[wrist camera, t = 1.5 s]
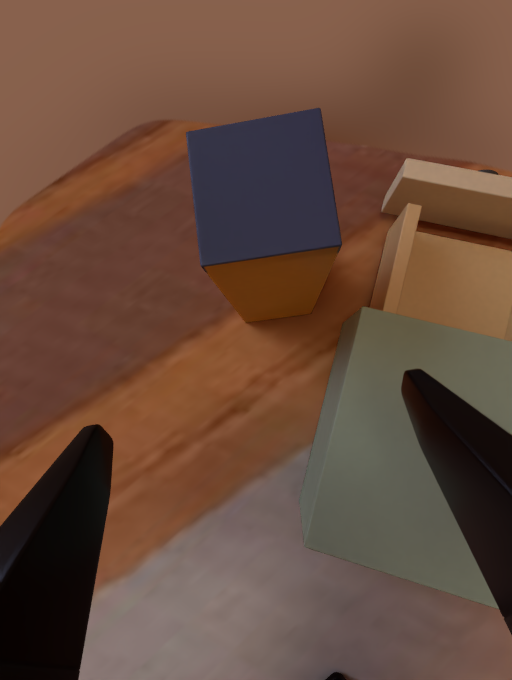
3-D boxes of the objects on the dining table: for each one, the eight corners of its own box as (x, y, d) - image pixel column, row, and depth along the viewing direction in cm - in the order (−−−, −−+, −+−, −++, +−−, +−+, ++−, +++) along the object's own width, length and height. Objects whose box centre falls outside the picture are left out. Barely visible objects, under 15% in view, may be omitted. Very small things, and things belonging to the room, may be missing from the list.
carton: (301, 246, 24) (320, 106, 12) (311, 313, 24) (342, 245, 11) (237, 256, 25) (185, 131, 12) (245, 323, 24) (200, 266, 11)
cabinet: (342, 323, 24) (362, 305, 18) (514, 364, 22) (599, 361, 16) (298, 500, 23) (303, 547, 17) (475, 554, 21) (549, 626, 15)
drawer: (388, 180, 23) (411, 137, 19) (545, 211, 22) (606, 173, 18) (345, 355, 23) (359, 351, 18) (506, 397, 21) (562, 402, 17)
